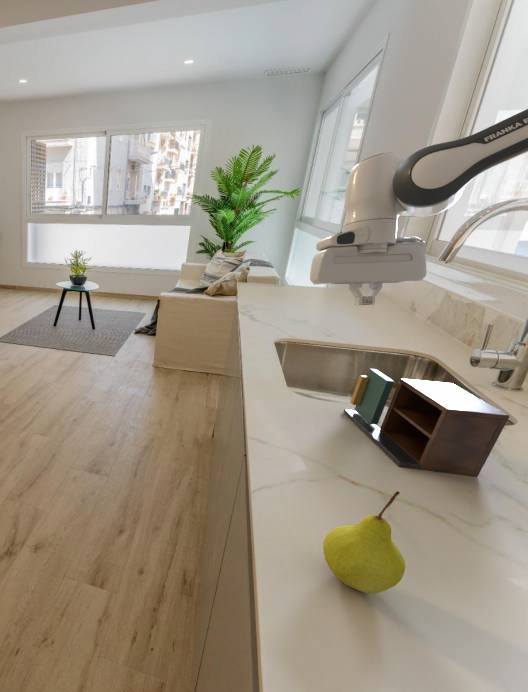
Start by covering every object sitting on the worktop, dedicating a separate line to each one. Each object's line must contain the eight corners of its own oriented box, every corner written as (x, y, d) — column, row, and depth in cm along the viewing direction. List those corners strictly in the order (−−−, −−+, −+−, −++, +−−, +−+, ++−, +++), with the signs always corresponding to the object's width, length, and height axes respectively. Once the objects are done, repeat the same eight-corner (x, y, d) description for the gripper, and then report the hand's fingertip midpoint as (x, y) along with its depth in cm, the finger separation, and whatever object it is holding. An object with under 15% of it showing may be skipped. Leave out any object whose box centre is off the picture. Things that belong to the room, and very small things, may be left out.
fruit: (355, 614, 44) (396, 524, 39) (300, 562, 50) (331, 479, 45) (405, 601, 46) (451, 512, 41) (346, 552, 52) (380, 470, 47)
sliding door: (360, 410, 85) (376, 369, 81) (377, 425, 79) (394, 381, 76) (347, 409, 85) (362, 367, 82) (363, 423, 80) (379, 380, 76)
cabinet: (404, 419, 84) (426, 368, 80) (477, 476, 67) (510, 415, 63) (342, 412, 86) (360, 362, 82) (398, 466, 69) (425, 406, 65)
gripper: (414, 239, 90) (409, 305, 91) (308, 243, 93) (305, 306, 95) (437, 232, 84) (432, 303, 85) (322, 237, 87) (319, 304, 88)
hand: (364, 305), depth 90 cm, fingers closed
